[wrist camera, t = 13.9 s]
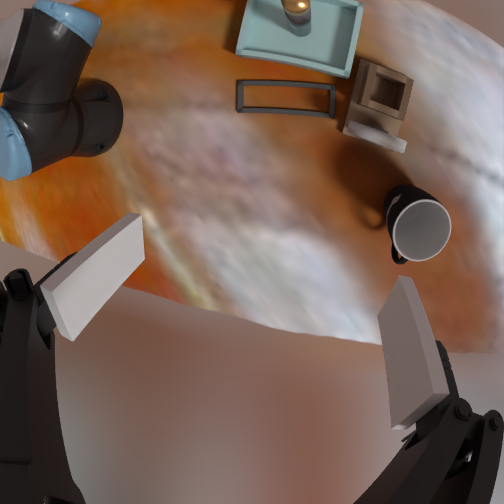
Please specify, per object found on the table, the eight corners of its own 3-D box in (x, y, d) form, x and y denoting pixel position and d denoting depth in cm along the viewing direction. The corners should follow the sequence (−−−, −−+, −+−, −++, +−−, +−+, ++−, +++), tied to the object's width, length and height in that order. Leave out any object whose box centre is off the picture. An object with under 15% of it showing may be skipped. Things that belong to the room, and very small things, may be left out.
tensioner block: (341, 132, 36) (349, 140, 28) (359, 59, 29) (372, 47, 22) (391, 150, 35) (410, 162, 27) (410, 79, 28) (433, 74, 21)
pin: (288, 34, 29) (278, 8, 19) (292, 18, 27) (283, -14, 17) (309, 38, 29) (307, 12, 19) (313, 22, 27) (312, -9, 17)
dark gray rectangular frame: (238, 112, 37) (237, 112, 37) (238, 81, 35) (237, 80, 34) (333, 118, 35) (333, 118, 34) (335, 86, 32) (335, 85, 32)
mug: (385, 170, 37) (405, 190, 28) (433, 186, 36) (460, 210, 27) (364, 238, 43) (374, 272, 34) (409, 250, 42) (427, 284, 34)
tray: (240, 57, 32) (235, 53, 30) (256, -11, 26) (252, -18, 23) (346, 79, 31) (349, 77, 29) (361, 10, 24) (364, 3, 22)
